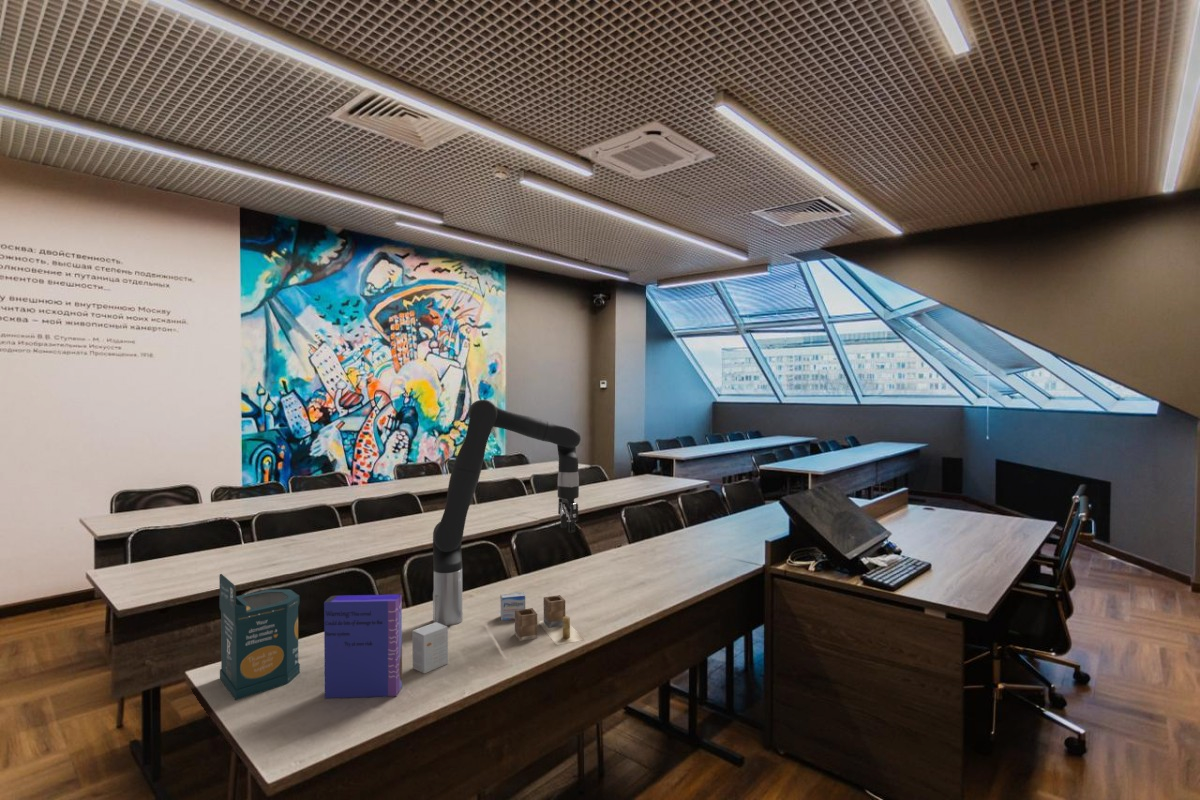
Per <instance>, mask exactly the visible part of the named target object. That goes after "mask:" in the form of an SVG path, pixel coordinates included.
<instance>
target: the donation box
mask: <svg viewBox="0 0 1200 800" xmlns="http://www.w3.org/2000/svg"><path fill="white" fill-rule="evenodd" d="M218 580H219V611H220V627H221V628H220V632H221V633H220V635H221V636H220V638H221V640H220V641H221V643H220V645H221V646H220V647H221V649H220V650H221V652H220V653H221V655H220V656H221V658H220V660H221V664H220V665H221V667H220V669H219V679H220V681H221V682H222V684H223V685H224V687H225V688H226V689H227V690H228V692H229V693H230V695H231V697H232V698H233V699H234V700H235V701H238V700H241V699H244V698H247V697H250V696H253V695H256V694H259V693H263V692H265V691H268V690H272V689H275V688H279V687H282V686H284V685H288V684H289V683H291V681H292V680H294V679H295V677H297V676H298V675H299V674H300V673H301V672H300V671H301V669H300V668H301V667H300V666H301V665H300V663H299V605H300V595H299V594H298V593H296V592H295V591H293V589H264V590H261V591H256V592H251V593H245V594H241V595H237V588H236V585H235V584H234V583H233V582H232V581H231V580H229V579H228V578H227V577H226V576H225V575H224V574H222V573H220V574H219V579H218Z"/></svg>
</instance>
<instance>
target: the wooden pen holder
mask: <svg viewBox="0 0 1200 800" xmlns="http://www.w3.org/2000/svg"><path fill="white" fill-rule="evenodd" d="M565 616H566V599H565V598H563V596H562V595H559V594H557V595H551V596H544V597H543V620H544V623H545V624H546V625H547V627H548V628H552V627H558V626H563V617H565Z"/></svg>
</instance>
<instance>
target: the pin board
mask: <svg viewBox="0 0 1200 800" xmlns="http://www.w3.org/2000/svg"><path fill="white" fill-rule="evenodd" d="M537 624H539V625H540V626H541V627H542V629H543V630H544V632H545V633H546V634H547V635H548V637H549V638H550V639H551V640H552V642H553V643H554V644H555V645H556V646H559V645H564V644H565V645H566V644H570V643H577V642H582V641H585V638H584V637H583V636H582V635H581V634H580V633H579V632H578V631H577V630H576V629H575V628H574V627H573V625H572V624H571V616H568V615H567V616H566V615H565V617H563V626H558V627H552V628H548V627H547V625H546V624H545V623H544V619H543V620H537Z"/></svg>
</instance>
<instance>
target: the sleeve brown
mask: <svg viewBox="0 0 1200 800" xmlns="http://www.w3.org/2000/svg"><path fill="white" fill-rule="evenodd" d="M514 634H515V637H516V638H517V640H518V641H519V642H520V641H527V640H533V639H534V640H535V639H537V638H538V612H537V611H535V609H534V608H533V607H529V608H525V609H522V610H515V619H514Z"/></svg>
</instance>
